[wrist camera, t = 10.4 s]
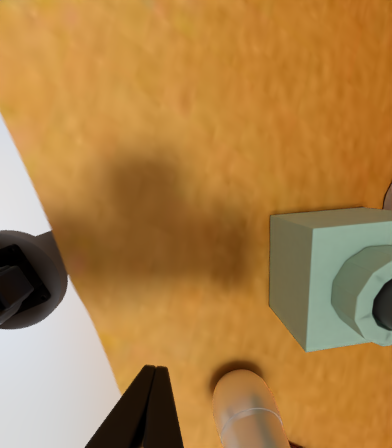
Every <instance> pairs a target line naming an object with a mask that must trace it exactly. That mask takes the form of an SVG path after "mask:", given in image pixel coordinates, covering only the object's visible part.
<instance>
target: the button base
mask: <svg viewBox="0 0 392 448" xmlns="http://www.w3.org/2000/svg"><path fill="white" fill-rule="evenodd" d="M391 279H392V211H391V210H382V209H374V208H365V207H360V208H349V209H337V210H326V211H314V212H303V213H291V214H280V215H271V216H270V294H269V306H270V307H271V309H272V310H273V311H274V313H275V314H276V315H277V316H278V318H279V319H280V320H281V321H282V323H283V324H284V325H285V326H286V328H287V329H288V330H289V332H290V333H291V334H292V335H293V337H294V338H295V339H296V340H297V342H298V343H299V344H300V345H301V347H302V348H303V349H304V351H305V352H311V351H318V350H324V349H330V348H336V347H342V346H349V345H355V344H361V343H367V342H374V343H376V344H378V345H381V346H389V345H392V329H390V328H389V327H387V326H386V325H384V324H383V323H381V322H380V321H378V320H377V319H376V318H375V317H374V315H373V313H372V308H373V300H374V298H375V297H376V295H377V294H378V292H379V291H380V289H381V288H382V286H383V285H384V284H385V283H386V282H388V281H389V280H391Z"/></svg>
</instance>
